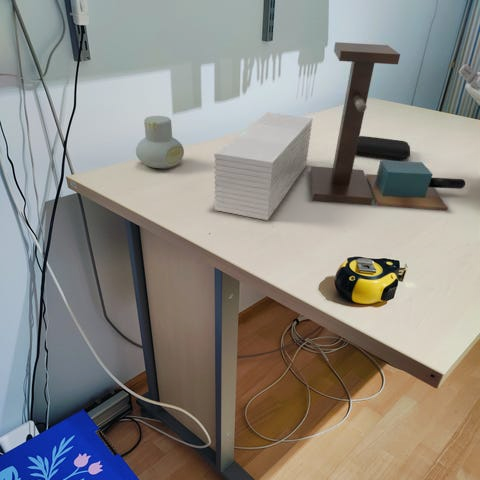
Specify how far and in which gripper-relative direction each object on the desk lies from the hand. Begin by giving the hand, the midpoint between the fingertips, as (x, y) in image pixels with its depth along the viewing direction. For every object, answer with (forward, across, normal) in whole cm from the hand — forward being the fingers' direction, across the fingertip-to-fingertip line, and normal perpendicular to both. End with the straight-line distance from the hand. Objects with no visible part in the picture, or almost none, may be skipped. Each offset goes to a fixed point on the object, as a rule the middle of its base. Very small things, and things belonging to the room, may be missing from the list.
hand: (470, 72), depth 79 cm
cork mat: (-6, -3, -23) cm, 24 cm away
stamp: (-8, -3, -21) cm, 23 cm away
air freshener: (+42, +3, -51) cm, 66 cm away
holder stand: (+6, -3, -30) cm, 31 cm away
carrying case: (-5, +23, -24) cm, 33 cm away
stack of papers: (+20, -5, -38) cm, 44 cm away
